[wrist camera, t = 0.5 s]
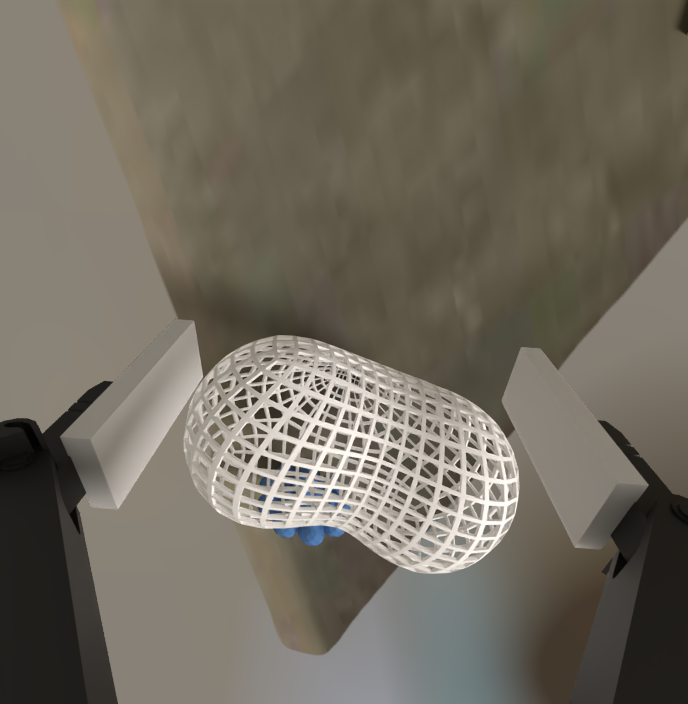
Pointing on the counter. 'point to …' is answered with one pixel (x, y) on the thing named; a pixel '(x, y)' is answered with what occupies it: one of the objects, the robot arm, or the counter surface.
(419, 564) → the heart
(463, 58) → the counter surface
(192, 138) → the counter surface
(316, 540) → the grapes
